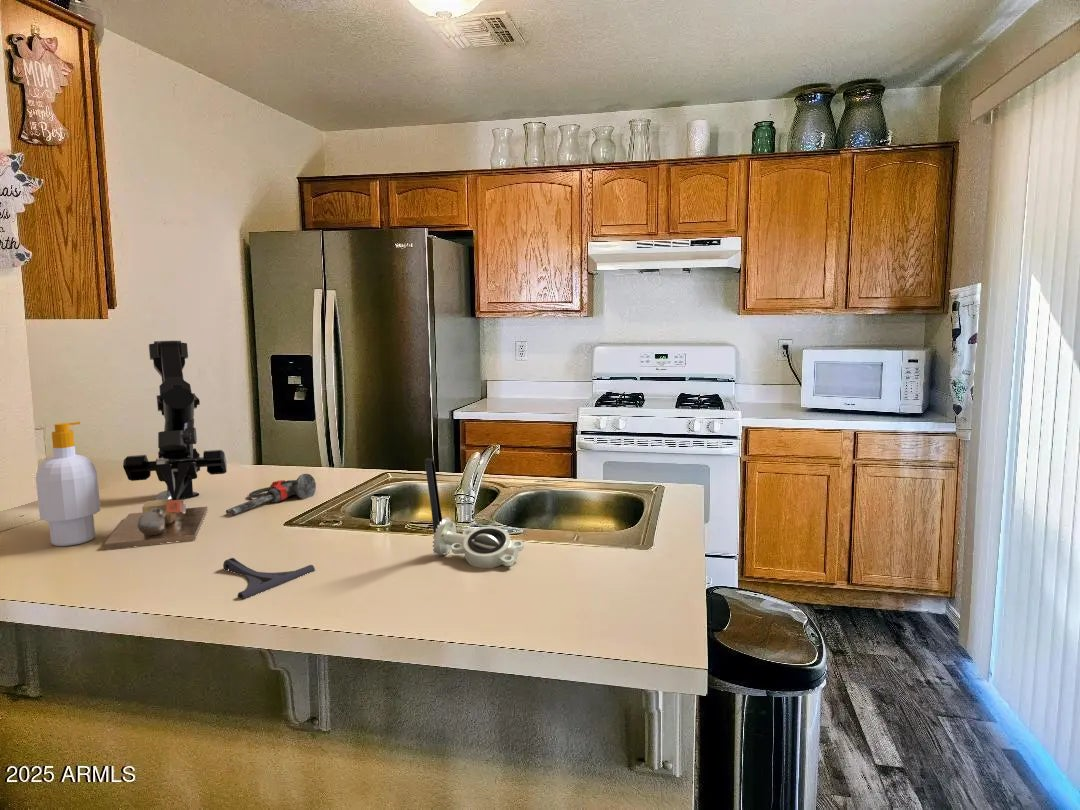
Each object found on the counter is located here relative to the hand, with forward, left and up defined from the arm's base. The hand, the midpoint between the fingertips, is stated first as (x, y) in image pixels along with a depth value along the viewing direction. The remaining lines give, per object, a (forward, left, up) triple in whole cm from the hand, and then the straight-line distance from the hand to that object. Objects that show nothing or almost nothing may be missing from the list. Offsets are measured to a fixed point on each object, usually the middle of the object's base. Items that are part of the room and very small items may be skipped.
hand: (174, 499), depth 140 cm
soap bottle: (-16, -13, -8) cm, 22 cm away
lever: (-8, +5, -4) cm, 10 cm away
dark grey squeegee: (+32, -3, -9) cm, 33 cm away
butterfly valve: (+59, +26, -8) cm, 65 cm away
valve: (-10, +27, -9) cm, 30 cm away
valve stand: (-9, +1, -8) cm, 12 cm away
